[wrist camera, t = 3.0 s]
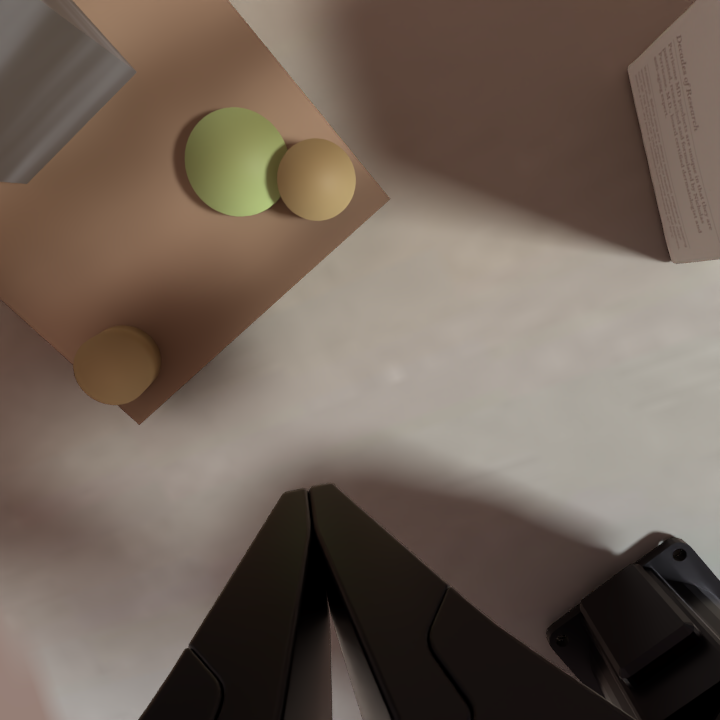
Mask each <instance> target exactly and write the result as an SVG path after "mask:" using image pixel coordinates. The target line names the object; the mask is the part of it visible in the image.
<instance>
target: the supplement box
mask: <svg viewBox="0 0 720 720" xmlns="http://www.w3.org/2000/svg"><path fill="white" fill-rule="evenodd" d="M628 74H629V80H630V84H631V89H632V93H633V98H634V103H635V107H636V111H637V116H638V120H639V125H640V129H641V133H642V138H643V144H644V148H645V152H646V156H647V160H648V165H649V169H650V174H651V179H652V183H653V187H654V191H655V195H656V200H657V205H658V209H659V213H660V217H661V221H662V225H663V231H664V236H665V239H666V243H667V247H668V250H669V254H670V257H671V261H672V262H673V263H676V264H680V263H690V262H699V261H707V260H716V259H720V0H696V1H695V2H694V3H693V4H692V5H691V6H690V7H689V8H688V9H687V10H686V11H685V12H684V13H683V14H682V15H681V16H680V17H679V18H678V19H677V20H676V21H675V22H674V23H673V24H672V25H671V26H669V27H668V28H667V29H666V30H665V31H664V32H663V33H662V34H661V35H660V36H659V37H658V38H657V39H656V40H655V41H654V42H653V43H652V44H651V45H650V46H649V47H648V48H647V49H646V50H645V51H644V52H643V53H642V54H641V55H640V56H639V57H638V58H637V59H636V60H635V61H634V62H632V63H631V64H630V65H629V66H628Z"/></svg>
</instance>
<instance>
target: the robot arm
mask: <svg viewBox="0 0 720 720" xmlns="http://www.w3.org/2000/svg"><path fill="white" fill-rule="evenodd" d="M676 549H681V553H680V554H679V555H678V556H673V552H674V551H675V550H676ZM327 598H328V599H327ZM328 602H329V606H328ZM329 607H330V612H331V616H332V620H333V624H334V627H335V631H336V634H337V637H338V640H339V644H340V647H341V650H342V654H343V657H344V660H345V663H346V667H347V670H348V673H349V676H350V680H351V683H352V686H353V689H354V693H355V696H356V699H357V703H358V706H359V709H360V712H361V716H362V719H363V720H720V581H719V579H718V578H717V577H716V576H715V575H714V574H713V572H712V571H711V570H710V569H709V568H708V567H707V565H706V564H705V563H704V562H703V561H702V560H701V558H700V557H699V556H698V555H697V554H696V552H695V551H694V550H693V549H692V548H691V547H690V546H689V545H688V544H687V543H686V542H684V541H683V540H682V539H679V538H670V539H668V540H666V541H665V542H663V543H662V544H661V545H659V546H658V547H656V548H655V549H654V550H652V551H651V552H650V553H648V554H647V555H646V556H644V557H643V558H642V559H640V560H639V561H637V562H636V563H635V564H630V565H629V566H627V567H626V568H625V569H623V570H622V571H621V572H619V573H618V574H617V575H615V576H614V577H613V578H611V579H610V580H608V581H607V582H606V583H604V584H603V585H602V586H600V587H599V588H598V589H596V590H595V591H594V592H592V593H591V594H590V595H588V596H587V597H585V598H584V599H583V600H582V601H581V603H580V604H579V605H578V606H576V607H575V608H574V609H572V610H571V611H570V612H568V613H567V614H566V615H564V616H563V617H562V618H560V619H559V620H557V621H556V622H555V623H553V624H552V625H551V626H550V627H549V628H548V630H547V633H546V635H547V639H548V642H549V644H550V646H551V647H552V649H553V650H554V651H555V652H556V653H557V655H558V656H559V657H560V658H561V659H562V660H563V661H564V663H565V664H566V665H567V666H568V667H569V668H570V669H571V671H572V672H573V673H574V674H575V675H576V676H577V677H578V679H579V680H580V681H581V682H582V683H581V682H580V681H578V680H577V679H576V678H574V677H573V676H571V675H570V674H568V673H567V672H565V671H564V670H562V669H561V668H559V667H558V666H556V665H555V664H553V663H552V662H551V661H549V660H548V659H546V658H545V657H543V656H542V655H540V654H539V653H537V652H536V651H534V650H533V649H531V648H530V647H529V646H527V645H526V644H524V643H523V642H522V641H520V640H519V639H517V638H516V637H515V636H513V635H512V634H510V633H509V632H508V631H506V630H505V629H503V628H502V627H501V626H499V625H498V624H497V623H495V622H494V621H493V620H492V619H490V618H489V617H488V616H487V615H486V614H484V613H483V612H482V611H481V610H479V609H478V608H477V607H476V606H474V605H473V604H472V603H471V602H470V601H468V600H467V599H466V598H465V597H464V596H463V595H462V594H460V593H459V592H458V591H457V590H456V589H455V588H454V587H450V586H449V584H448V583H447V582H446V581H445V580H443V579H442V578H441V577H440V576H439V575H438V574H436V573H435V572H434V571H433V570H432V569H431V568H430V567H428V566H427V565H426V564H425V563H424V562H423V561H422V560H420V559H419V558H418V557H417V556H416V555H415V554H414V553H412V552H411V551H410V550H409V549H408V548H407V547H406V546H404V545H403V544H402V543H401V542H400V541H399V540H398V539H396V538H395V537H394V536H393V535H392V534H391V533H390V532H388V531H387V530H386V529H385V528H384V527H383V526H382V525H380V524H379V523H378V522H377V521H376V520H375V519H373V518H372V517H371V516H370V515H369V514H368V513H367V512H365V511H364V510H363V509H362V508H361V507H360V506H359V505H357V504H356V503H355V502H354V501H353V500H352V499H351V498H349V497H348V496H347V495H346V494H345V493H344V492H343V491H341V490H340V489H339V488H338V487H337V486H336V485H335V484H333V483H326V484H321V485H317V486H312V487H311V488H310V489H309V491H308V490H307V489H305V488H302V489H297V490H292V491H288V492H285V493H284V494H283V495H282V496H281V498H280V499H279V501H278V502H277V504H276V506H275V507H274V509H273V510H272V512H271V514H270V515H269V517H268V518H267V520H266V522H265V523H264V525H263V526H262V528H261V530H260V531H259V533H258V534H257V536H256V538H255V539H254V541H253V542H252V544H251V546H250V547H249V549H248V550H247V552H246V554H245V555H244V557H243V558H242V560H241V562H240V563H239V565H238V566H237V568H236V570H235V571H234V573H233V574H232V576H231V578H230V579H229V581H228V583H227V584H226V586H225V587H224V589H223V591H222V592H221V594H220V595H219V597H218V599H217V600H216V602H215V603H214V605H213V607H212V608H211V610H210V611H209V613H208V615H207V616H206V618H205V619H204V621H203V623H202V624H201V626H200V627H199V629H198V631H197V632H196V634H195V635H194V637H193V639H192V640H191V642H190V643H189V648H186V649H185V650H184V651H183V653H182V655H181V656H180V658H179V659H178V661H177V663H176V664H175V666H174V667H173V669H172V671H171V672H170V674H169V675H168V677H167V678H166V680H165V681H164V683H163V684H162V686H161V687H160V689H159V690H158V692H157V693H156V695H155V696H154V698H153V699H152V701H151V702H150V704H149V705H148V707H147V708H146V710H145V711H144V712H143V714H142V715H141V717H140V718H139V719H138V720H332V680H331V637H330V614H329ZM559 635H566V637H565V638H564V639H563V640H561V641H559V640H556V638H557V636H559Z"/></svg>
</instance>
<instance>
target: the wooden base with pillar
mask: <svg viewBox="0 0 720 720" xmlns="http://www.w3.org/2000/svg"><path fill="white" fill-rule="evenodd" d="M388 200H390V198H389V197H388V196H387V194H386V193H385V192H384V191H383V190H382V188H381V187H380V186H379V185H378V183H377V182H376V181H375V180H374V179H373V177H372V176H371V175H370V174H369V172H368V171H367V170H366V169H365V167H364V166H363V165H362V164H361V163H360V161H359V160H358V159H357V158H356V156H355V155H354V154H353V153H352V152H351V150H350V149H349V148H348V147H347V145H346V144H345V143H344V142H343V140H342V139H341V138H340V137H339V136H338V134H337V133H336V132H335V131H334V129H333V128H332V127H331V126H330V125H329V123H328V122H327V121H326V120H325V118H324V117H323V116H322V115H321V114H320V112H319V111H318V110H317V109H316V107H315V106H314V105H313V104H312V102H311V101H310V100H309V99H308V98H307V96H306V95H305V94H304V93H303V91H302V90H301V89H300V88H299V87H298V85H297V84H296V83H295V82H294V80H293V79H292V78H291V77H290V76H289V74H288V73H287V72H286V71H285V69H284V68H283V67H282V66H281V64H280V63H279V62H278V61H277V60H276V58H275V57H274V56H273V55H272V53H271V52H270V51H269V50H268V49H267V47H266V46H265V45H264V44H263V42H262V41H261V40H260V39H259V38H258V36H257V35H256V34H255V33H254V31H253V30H252V29H251V28H250V26H249V25H248V24H247V23H246V22H245V20H244V19H243V18H242V17H241V15H240V14H239V13H238V12H237V11H236V9H235V8H234V7H233V6H232V4H231V3H230V2H229V1H228V0H0V299H1V300H2V301H3V302H4V303H5V304H6V305H8V306H9V307H10V308H11V309H12V310H13V311H14V312H15V313H16V314H17V315H19V316H20V317H21V318H22V319H23V320H24V321H25V322H26V323H27V324H29V325H30V326H31V327H32V328H33V329H34V330H35V331H36V332H37V333H38V334H40V335H41V336H42V337H43V338H44V339H45V340H46V341H47V342H48V343H49V344H51V345H52V346H53V347H54V348H55V349H56V350H57V351H58V352H59V353H61V354H62V355H63V356H64V357H65V358H66V359H67V360H68V361H69V362H70V363H72V364H73V369H74V375H75V378H76V380H77V383H78V384H79V386H80V387H81V389H82V390H83V391H84V392H85V393H86V394H87V395H88V396H90V397H91V398H93V399H94V400H96V401H99V402H101V403H104V404H110V405H118V406H119V407H120V408H121V409H122V410H123V411H124V412H126V413H127V414H128V415H129V416H130V417H131V418H132V419H133V420H134V421H136V422H137V423H138V424H139V425H140V424H141V423H142V422H143V421H144V420H145V419H146V418H148V417H149V416H150V415H151V414H152V413H153V412H154V411H155V410H156V409H158V408H159V407H160V406H161V405H162V404H163V403H164V402H165V401H166V400H168V399H169V398H170V397H171V396H172V395H173V394H174V393H175V392H176V391H178V390H179V389H180V388H181V387H182V386H183V385H184V384H185V383H186V382H188V381H189V380H190V379H191V378H192V377H193V376H194V375H195V374H196V373H198V372H199V371H200V370H201V369H202V368H203V367H204V366H205V365H206V364H208V363H209V362H210V361H211V360H212V359H213V358H214V357H215V356H216V355H218V354H219V353H220V352H221V351H222V350H223V349H224V348H225V347H226V346H227V345H229V344H230V343H231V342H232V341H233V340H234V339H235V338H236V337H237V336H239V335H240V334H241V333H242V332H243V331H244V330H245V329H246V328H247V327H249V326H250V325H251V324H252V323H253V322H254V321H255V320H256V319H257V318H259V317H260V316H261V315H262V314H263V313H264V312H265V311H266V310H267V309H269V308H270V307H271V306H272V305H273V304H274V303H275V302H276V301H277V300H279V299H280V298H281V297H282V296H283V295H284V294H285V293H286V292H287V291H289V290H290V289H291V288H292V287H293V286H294V285H295V284H296V283H297V282H299V281H300V280H301V279H302V278H303V277H304V276H305V275H306V274H307V273H309V272H310V271H311V270H312V269H313V268H314V267H315V266H316V265H317V264H319V263H320V262H321V261H322V260H323V259H324V258H325V257H326V256H327V255H329V254H330V253H331V252H332V251H333V250H334V249H335V248H336V247H337V246H338V245H340V244H341V243H342V242H343V241H344V240H345V239H346V238H347V237H348V236H350V235H351V234H352V233H353V232H354V231H355V230H356V229H357V228H358V227H360V226H361V225H362V224H363V223H364V222H365V221H366V220H367V219H368V218H370V217H371V216H372V215H373V214H374V213H375V212H376V211H377V210H378V209H380V208H381V207H382V206H383V205H384V204H385V203H386V202H387V201H388Z"/></svg>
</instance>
